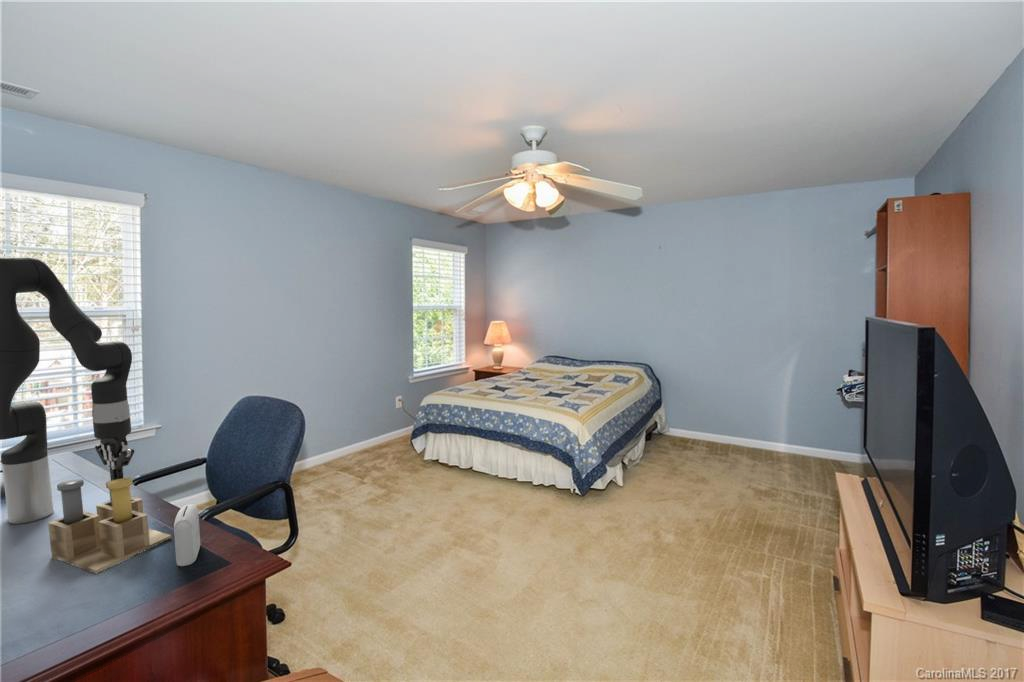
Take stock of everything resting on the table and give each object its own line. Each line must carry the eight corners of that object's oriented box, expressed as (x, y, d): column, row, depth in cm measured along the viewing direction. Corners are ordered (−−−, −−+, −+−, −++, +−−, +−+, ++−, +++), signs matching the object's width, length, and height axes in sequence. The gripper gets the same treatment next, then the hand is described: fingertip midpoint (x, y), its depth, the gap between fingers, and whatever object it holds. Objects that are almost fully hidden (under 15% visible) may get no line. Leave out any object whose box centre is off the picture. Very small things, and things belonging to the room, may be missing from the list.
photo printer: (182, 547, 123) (179, 501, 121) (202, 543, 125) (199, 498, 123) (174, 568, 114) (170, 519, 112) (195, 564, 115) (192, 516, 114)
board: (51, 557, 118) (48, 522, 117) (128, 525, 133) (125, 494, 132) (96, 574, 111) (92, 537, 110) (171, 538, 127) (168, 506, 126)
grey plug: (56, 524, 117) (52, 485, 116) (80, 515, 122) (76, 477, 121) (68, 527, 116) (64, 488, 114) (91, 519, 120) (87, 480, 119)
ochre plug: (106, 522, 118) (102, 483, 117) (127, 513, 122) (124, 476, 121) (118, 526, 116) (115, 487, 115) (139, 517, 121) (136, 479, 120)
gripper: (79, 418, 124) (85, 482, 126) (110, 424, 119) (116, 490, 121) (112, 411, 131) (117, 472, 133) (143, 417, 126) (148, 479, 128)
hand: (117, 481), depth 127 cm, fingers closed
